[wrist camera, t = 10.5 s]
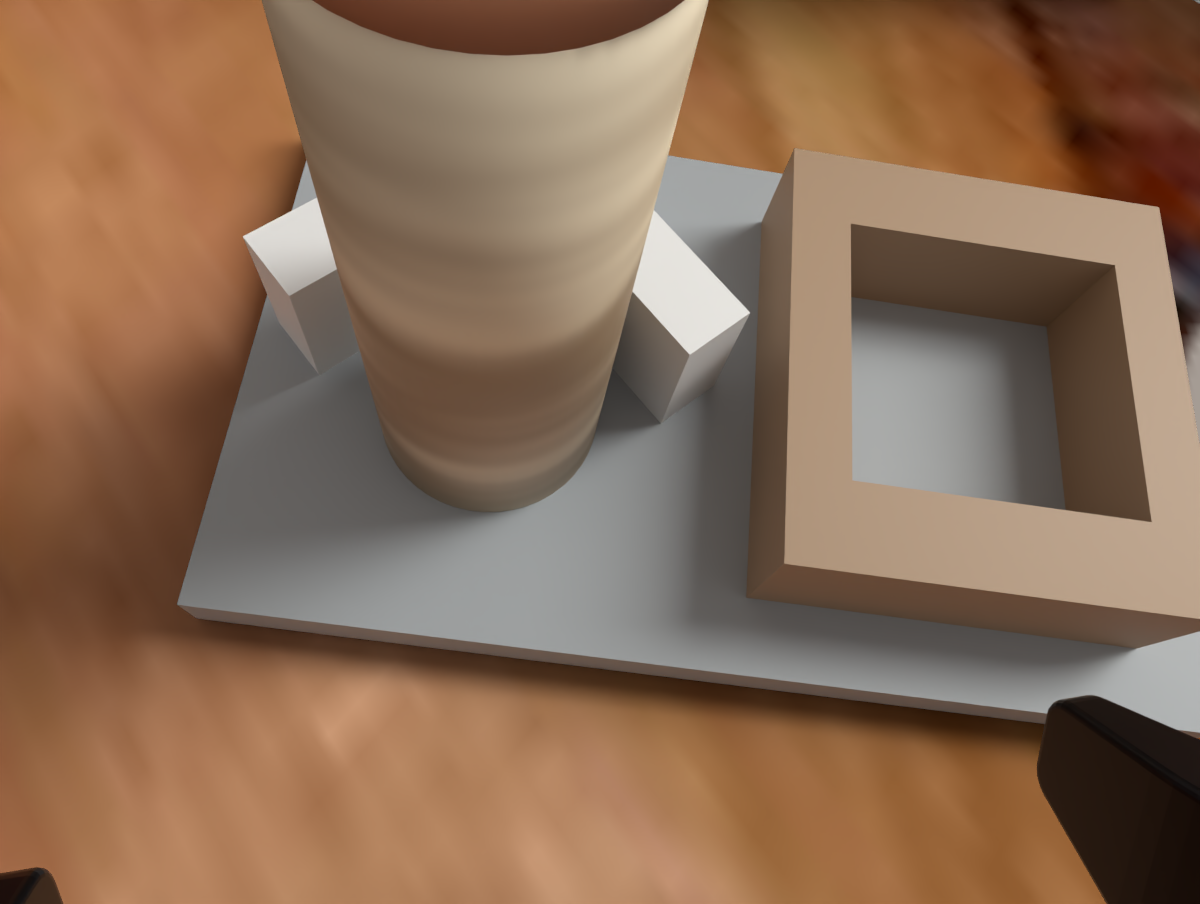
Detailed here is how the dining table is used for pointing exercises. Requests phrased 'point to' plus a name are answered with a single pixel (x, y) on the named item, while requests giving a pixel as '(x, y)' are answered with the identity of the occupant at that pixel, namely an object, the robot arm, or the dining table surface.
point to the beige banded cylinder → (487, 213)
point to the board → (775, 458)
